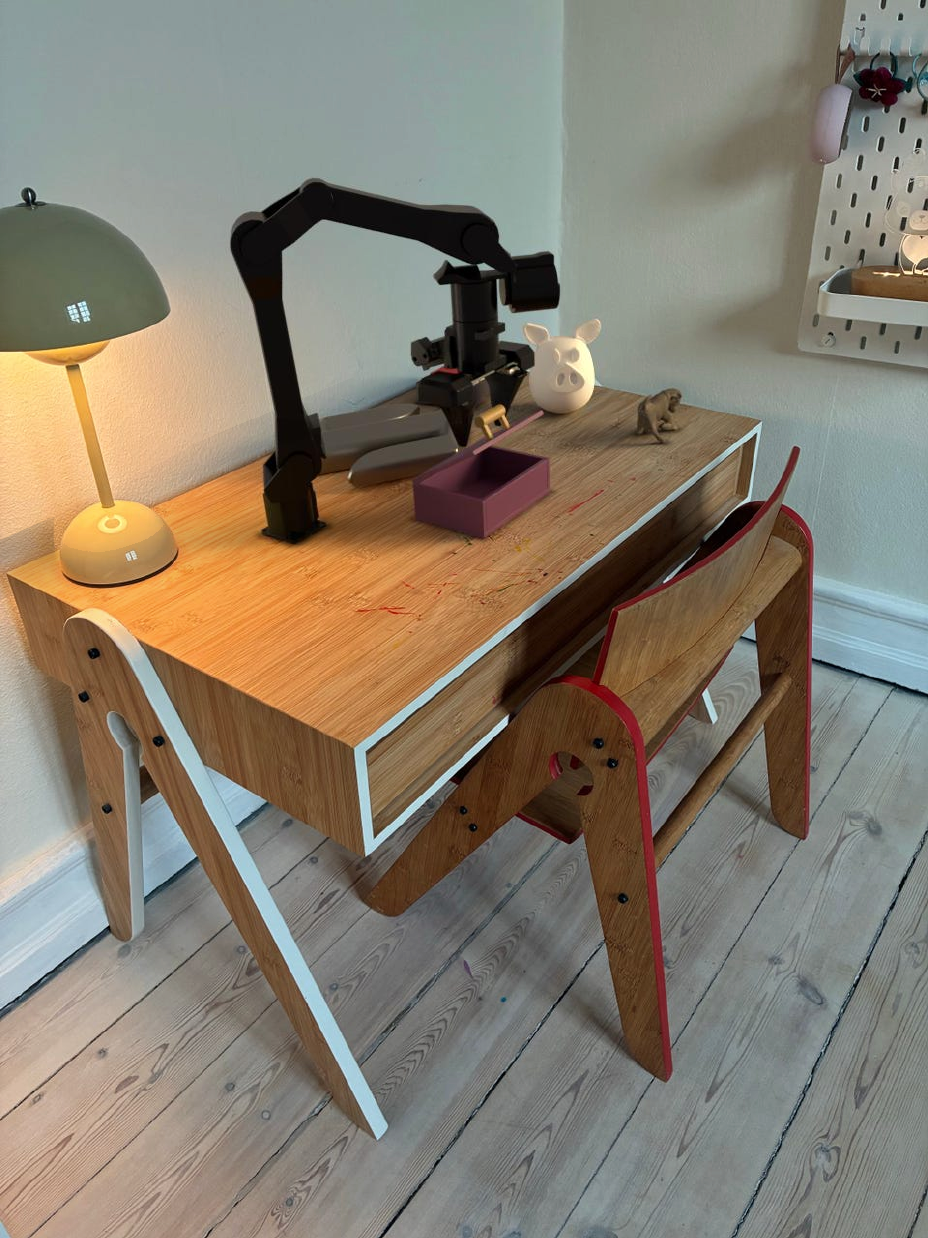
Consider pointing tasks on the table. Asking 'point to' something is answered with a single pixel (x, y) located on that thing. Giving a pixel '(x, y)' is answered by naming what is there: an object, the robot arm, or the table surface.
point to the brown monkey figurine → (658, 412)
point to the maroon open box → (482, 491)
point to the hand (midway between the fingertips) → (480, 435)
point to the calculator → (479, 387)
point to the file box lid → (485, 442)
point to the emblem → (386, 443)
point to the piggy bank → (562, 367)
